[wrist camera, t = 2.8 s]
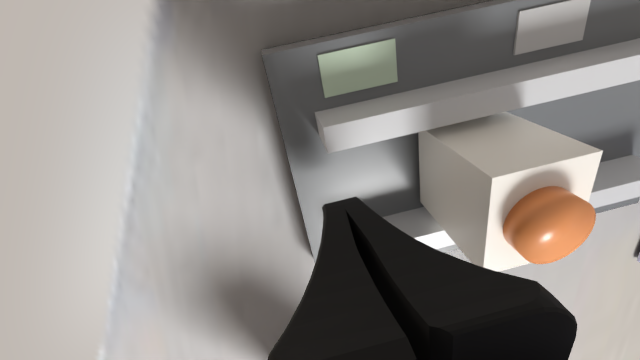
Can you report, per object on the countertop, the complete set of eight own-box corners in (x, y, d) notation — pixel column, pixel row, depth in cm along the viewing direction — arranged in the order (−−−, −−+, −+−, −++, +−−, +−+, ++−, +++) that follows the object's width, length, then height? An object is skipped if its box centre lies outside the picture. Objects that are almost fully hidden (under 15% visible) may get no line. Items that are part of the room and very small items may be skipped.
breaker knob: (494, 107, 14) (630, 161, 9) (487, 185, 16) (595, 266, 11) (418, 125, 14) (511, 191, 8) (420, 202, 15) (497, 293, 10)
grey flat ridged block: (673, -39, 14) (807, -56, 11) (605, 186, 20) (677, 222, 17) (261, 49, 13) (261, 62, 10) (315, 260, 19) (326, 315, 16)
